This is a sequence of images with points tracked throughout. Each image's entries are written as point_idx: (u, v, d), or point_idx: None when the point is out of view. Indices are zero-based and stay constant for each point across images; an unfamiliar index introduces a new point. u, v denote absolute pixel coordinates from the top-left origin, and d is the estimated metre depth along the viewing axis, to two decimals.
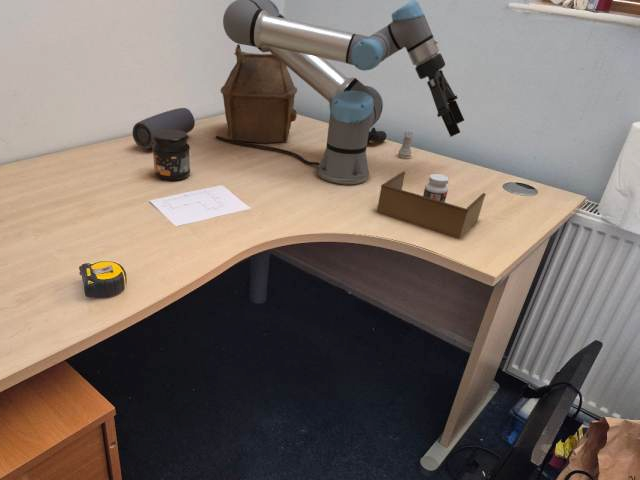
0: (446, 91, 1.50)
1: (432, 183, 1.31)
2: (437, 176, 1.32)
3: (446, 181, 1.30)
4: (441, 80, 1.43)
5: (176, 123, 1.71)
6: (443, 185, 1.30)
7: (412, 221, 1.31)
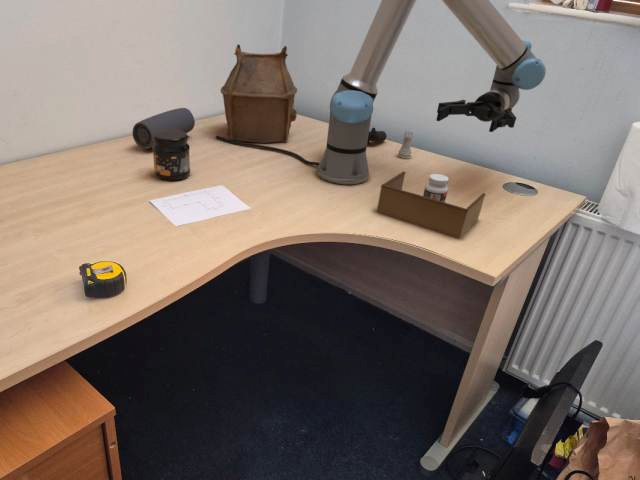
0: (461, 111, 1.40)
1: (432, 183, 1.31)
2: (437, 176, 1.32)
3: (446, 181, 1.30)
4: None
5: (175, 123, 1.71)
6: (443, 185, 1.30)
7: (412, 221, 1.31)
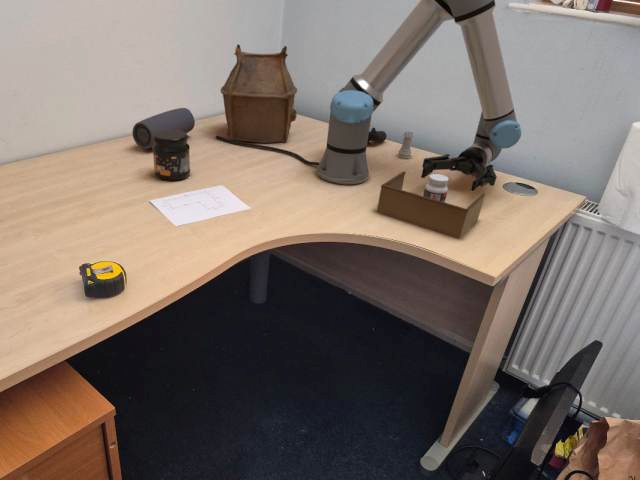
0: (445, 167, 1.47)
1: (432, 183, 1.31)
2: (437, 176, 1.32)
3: (446, 181, 1.30)
4: None
5: (175, 123, 1.71)
6: (443, 185, 1.30)
7: (412, 221, 1.31)
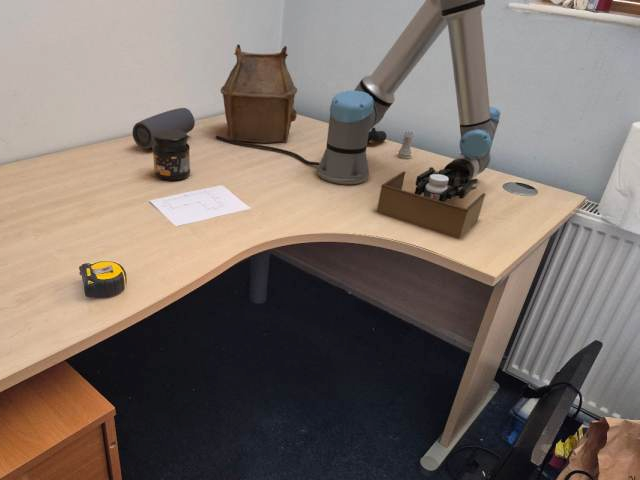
0: None
1: (432, 183, 1.31)
2: (438, 176, 1.32)
3: (446, 181, 1.30)
4: None
5: (175, 123, 1.71)
6: (443, 185, 1.30)
7: (412, 221, 1.31)
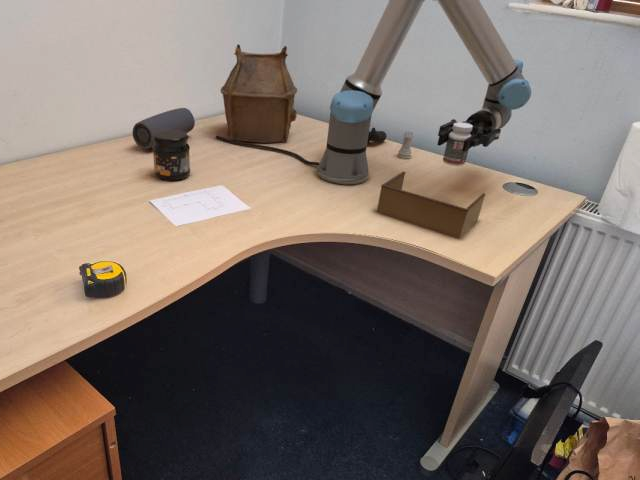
0: None
1: (456, 130, 1.31)
2: (461, 124, 1.32)
3: (470, 128, 1.30)
4: None
5: (175, 123, 1.71)
6: (467, 132, 1.30)
7: (412, 221, 1.31)
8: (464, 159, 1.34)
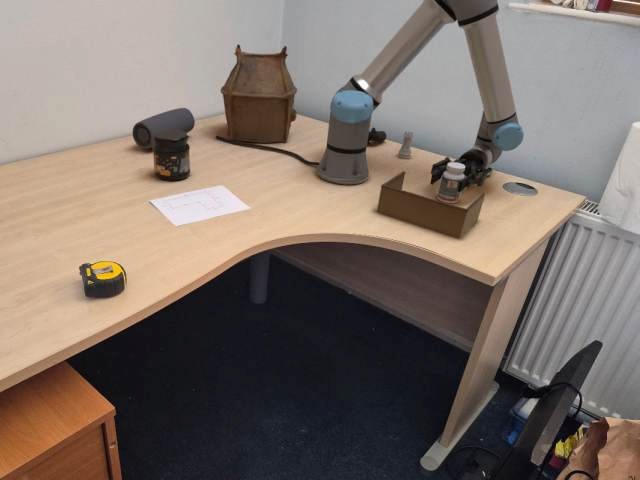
0: None
1: (450, 170, 1.39)
2: (455, 164, 1.40)
3: (463, 168, 1.38)
4: None
5: (175, 123, 1.71)
6: (460, 172, 1.38)
7: (412, 221, 1.31)
8: (457, 196, 1.42)
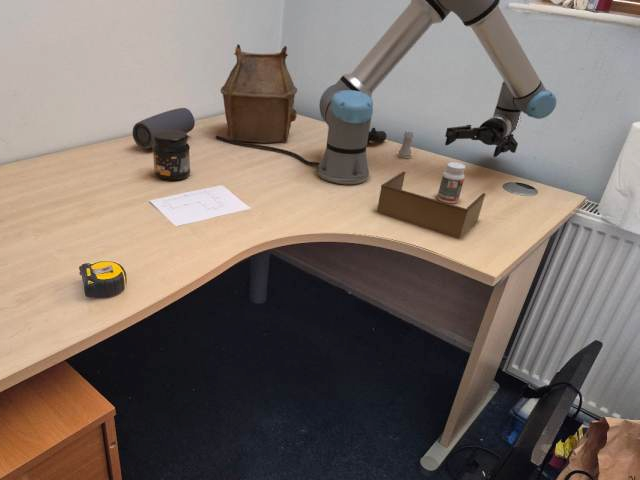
0: (468, 136, 1.53)
1: (450, 170, 1.39)
2: (455, 164, 1.40)
3: (463, 168, 1.38)
4: None
5: (175, 123, 1.71)
6: (460, 172, 1.38)
7: (412, 221, 1.31)
8: (457, 196, 1.42)
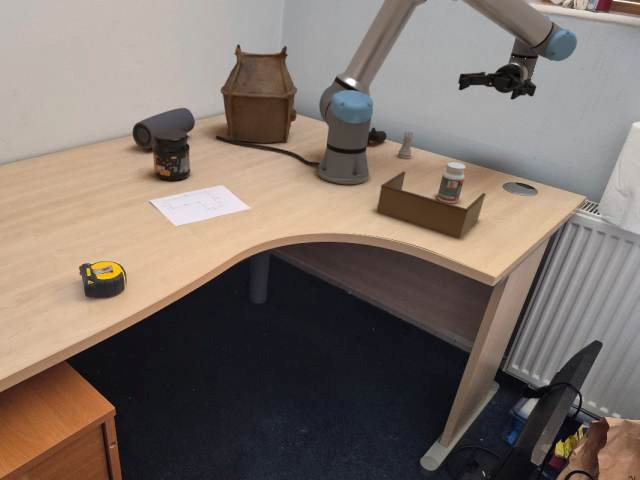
0: (482, 82, 1.45)
1: (450, 170, 1.39)
2: (455, 164, 1.40)
3: (463, 168, 1.38)
4: None
5: (176, 123, 1.71)
6: (460, 172, 1.38)
7: (412, 221, 1.31)
8: (457, 196, 1.42)
